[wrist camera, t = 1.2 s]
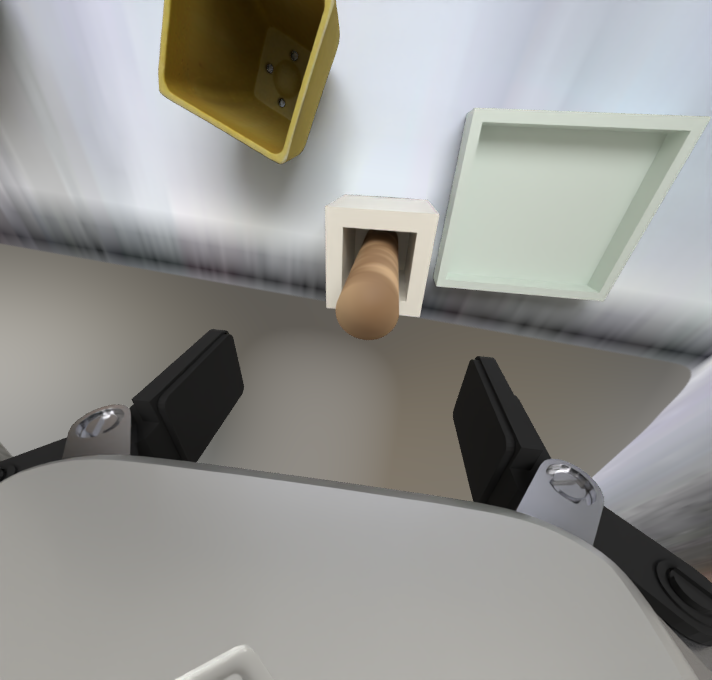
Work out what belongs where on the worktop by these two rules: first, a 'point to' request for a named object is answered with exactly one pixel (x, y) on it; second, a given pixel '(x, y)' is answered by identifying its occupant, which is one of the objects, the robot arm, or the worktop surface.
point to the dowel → (372, 288)
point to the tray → (556, 198)
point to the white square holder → (363, 213)
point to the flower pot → (250, 66)
